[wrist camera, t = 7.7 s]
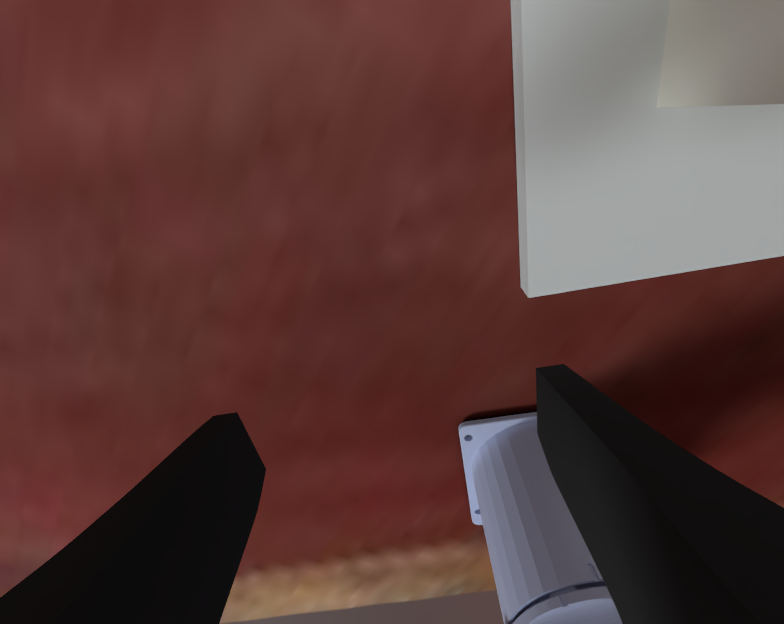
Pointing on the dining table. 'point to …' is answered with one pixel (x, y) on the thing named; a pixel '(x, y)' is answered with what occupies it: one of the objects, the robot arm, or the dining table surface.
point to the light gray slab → (630, 155)
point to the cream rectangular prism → (723, 53)
